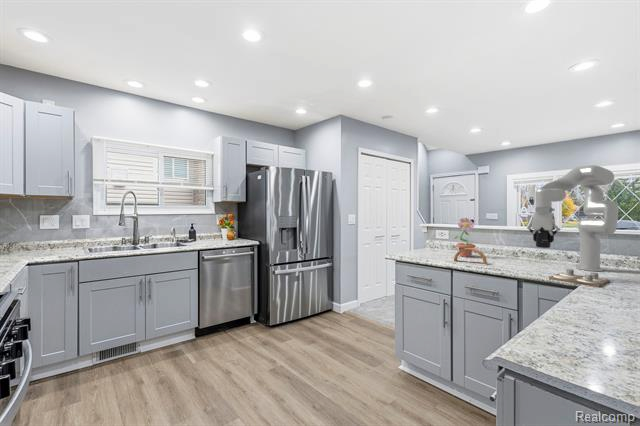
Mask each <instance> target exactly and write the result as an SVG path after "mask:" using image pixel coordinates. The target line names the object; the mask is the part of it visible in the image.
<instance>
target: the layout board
mask: <svg viewBox="0 0 640 426" xmlns="http://www.w3.org/2000/svg"><path fill="white" fill-rule="evenodd" d="M548 280H552V281H557V282H565V283H569V284H570V283H571V284H575V285H583V286H587V285H589V286H588V287H594V286H595V287H594V288H600V287H603V286H605V285H607V284H609V283H611V279H609V278H602V277H599V273H597V272H590V274H584V275H582V274H576V273H574V269H570V268H569V269H568V268H567V269H566V272H560V273H557V274H554V275H551V276H549V277H548Z"/></svg>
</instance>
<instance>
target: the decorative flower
mask: <svg viewBox="0 0 640 426" xmlns="http://www.w3.org/2000/svg"><path fill="white" fill-rule="evenodd" d="M457 226H458V227H459V228H460V229H461V233H460V235H457V236H455V237H454V239H459V240H460V241H462V242H457V243H456V244H455V247H457V248H458V252H459V251H460V250H463V249H465V248H475V249H476V245H475V244H474V243H469V238H463V235H464V234H465V235H466V236H469V233H468V232H467V231H471V230H472V229H474V227H475V225H474V222H473V220H470V219H469V218H468V217H465V218H463V217H462V218H460V219H459V222H458V223H457ZM472 254H473V251H472V250H465V251H462V252H461V253H460V254H459V257H463V258H471V257H472V256H473V255H472Z"/></svg>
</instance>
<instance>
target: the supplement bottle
mask: <svg viewBox="0 0 640 426" xmlns="http://www.w3.org/2000/svg"><path fill="white" fill-rule="evenodd" d="M549 236H550V233H549V231H545V229H544V228H543V227H540V229H539V230H538V231H537V232H536V241H535V247H536V248H540V249H550V248H551V245H552V244H551V243H552V242H551V243H550V242H549Z"/></svg>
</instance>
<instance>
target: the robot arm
mask: <svg viewBox="0 0 640 426" xmlns="http://www.w3.org/2000/svg"><path fill="white" fill-rule="evenodd" d="M614 181H615V175H614V173H613V171H611V170H610V169H607V168H604V167H602V166H599V165H596V164H595V165H584V166H577V167H574V168H572V169H571V170H570V171H569V172H567V173H566V174H564V176H562V177H561V178H558V179H555V180H552V181H550V182H547V183H546V184H544V185H542V186H541V187H540V188H538V189H536V190H535V192H534V193H535V194H534V197H535V198H534V199H535V205H534V209H535V211H534V213H533V216H532V223H531V224H529V225H528V226H527V228H526V229H527V230H528V231H529V232H530V233H531V234H532V240H533V242H536V232H537V231H538V230H539V229H540V227H543V228H544V229H545V231H549V233H550V236H549V242H550V243H553V242H554V240H555V237H554V236H555V235H556V234H557V233H558V232H560V231H561V229H562V228H561V227H559V226H558V225H557V224H556V220H555V219H556V217H555V214H554V212H555V208H553V207H552V203H553V202H562V201H564V199H566V197H567V191H571V190H573V189H575V188H576V187H577V186H578V185H580V186H581V188H582V189H583V192H584V201H583V202H584V203H583V211H582V212H583V214H584V215H586V216H589V217H586V218H585V217H584V218H582V219H580V220H579V221H578V222H577V230H578V231H579V232H578V233H579V259H578V260H579V263H578V264H579V265H576V267H575V268H576V269H578V270H582V271H591V272H604V268H602V267H601V245H602V244H601V243H602V242H601V239H600V237H598V235H605V236H606V235H607V236H609V235H610V236H611V235H613V234H615V232H616V231H617V227H618V219H619V205H618V203H617V202H616V201H614V200H604V195H605V194H604V190H602V188H601V187H600V186H606V185H607V186H608V185H611V184H612V183H613V182H614ZM594 217H597V218H594ZM598 217H603V218H598Z"/></svg>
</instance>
